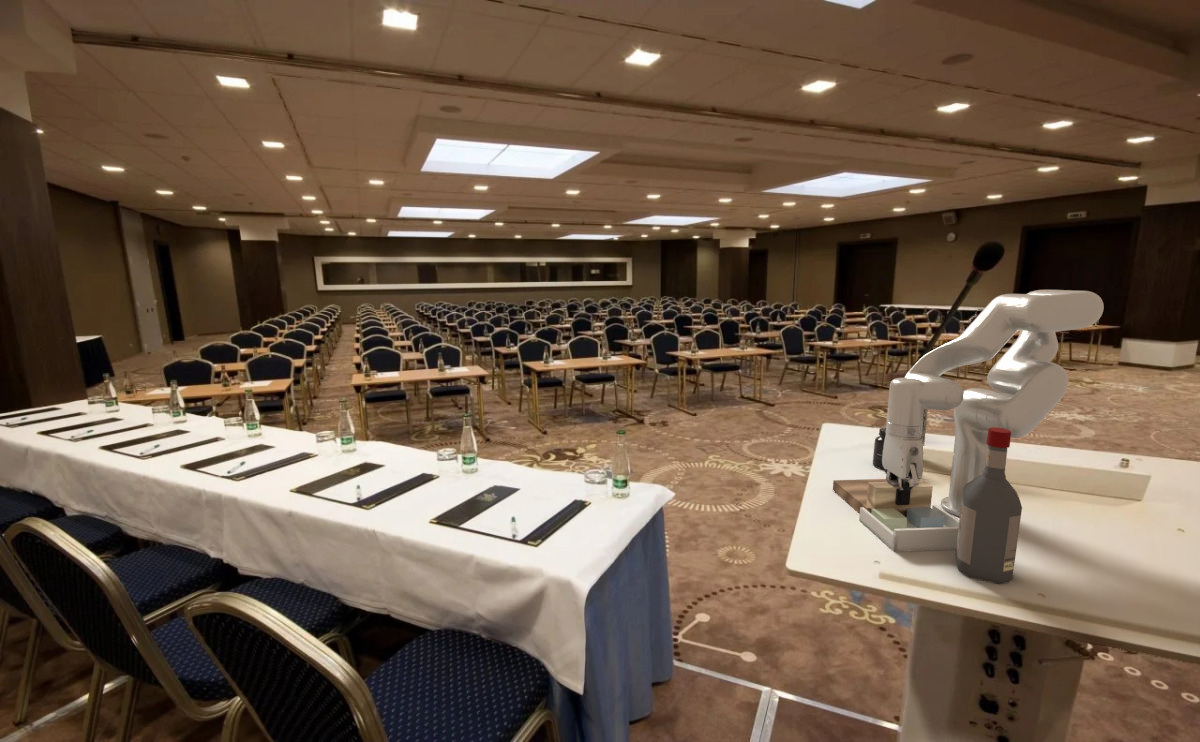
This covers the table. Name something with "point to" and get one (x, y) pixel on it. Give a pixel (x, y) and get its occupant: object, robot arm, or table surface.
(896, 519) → the tile sage
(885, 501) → the wooden block
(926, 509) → the tile slate
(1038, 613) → the table surface
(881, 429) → the supplement bottle
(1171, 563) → the table surface
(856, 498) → the wooden serving board
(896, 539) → the tray
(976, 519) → the liquor
